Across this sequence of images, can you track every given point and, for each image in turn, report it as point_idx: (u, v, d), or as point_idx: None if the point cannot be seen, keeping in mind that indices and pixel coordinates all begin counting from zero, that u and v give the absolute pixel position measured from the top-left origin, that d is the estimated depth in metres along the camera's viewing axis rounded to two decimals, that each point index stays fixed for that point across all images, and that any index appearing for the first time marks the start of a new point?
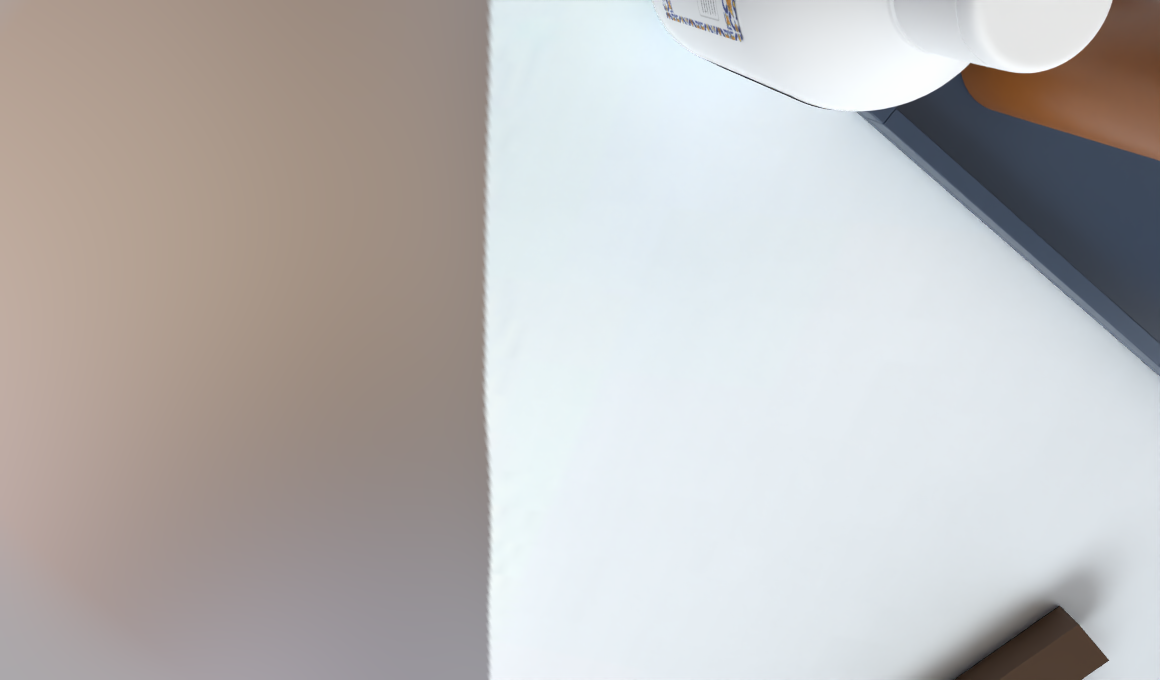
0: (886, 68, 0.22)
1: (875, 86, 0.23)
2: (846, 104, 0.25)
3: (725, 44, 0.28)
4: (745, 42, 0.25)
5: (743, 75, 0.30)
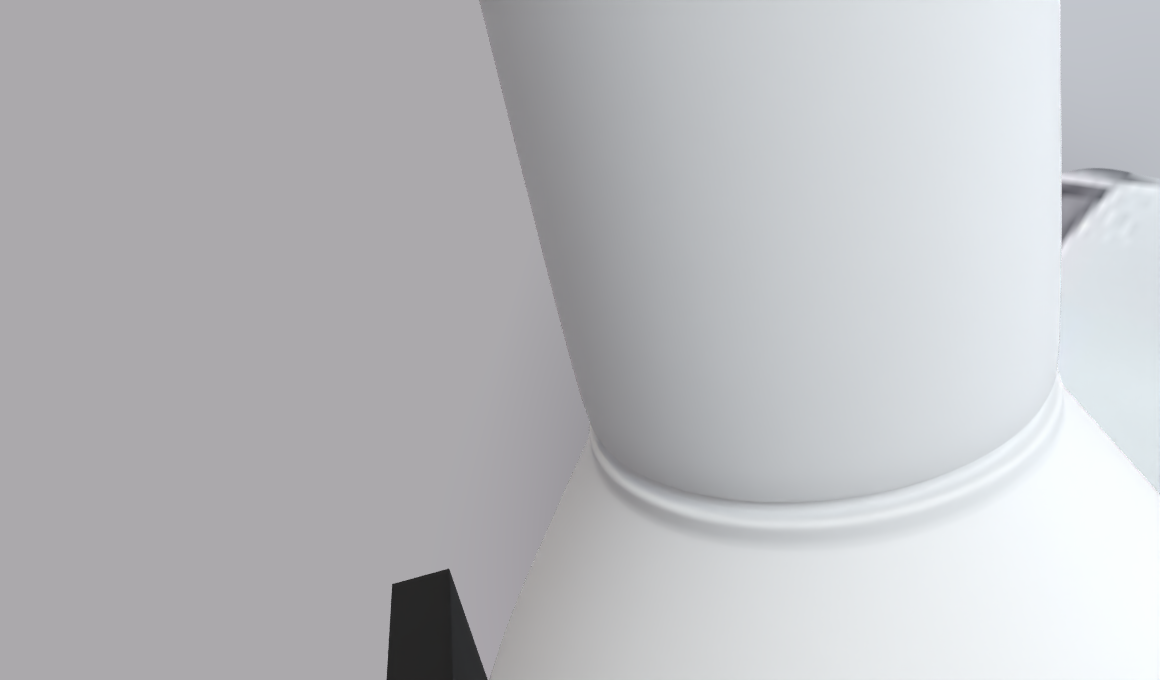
0: None
1: None
2: None
3: None
4: None
5: None
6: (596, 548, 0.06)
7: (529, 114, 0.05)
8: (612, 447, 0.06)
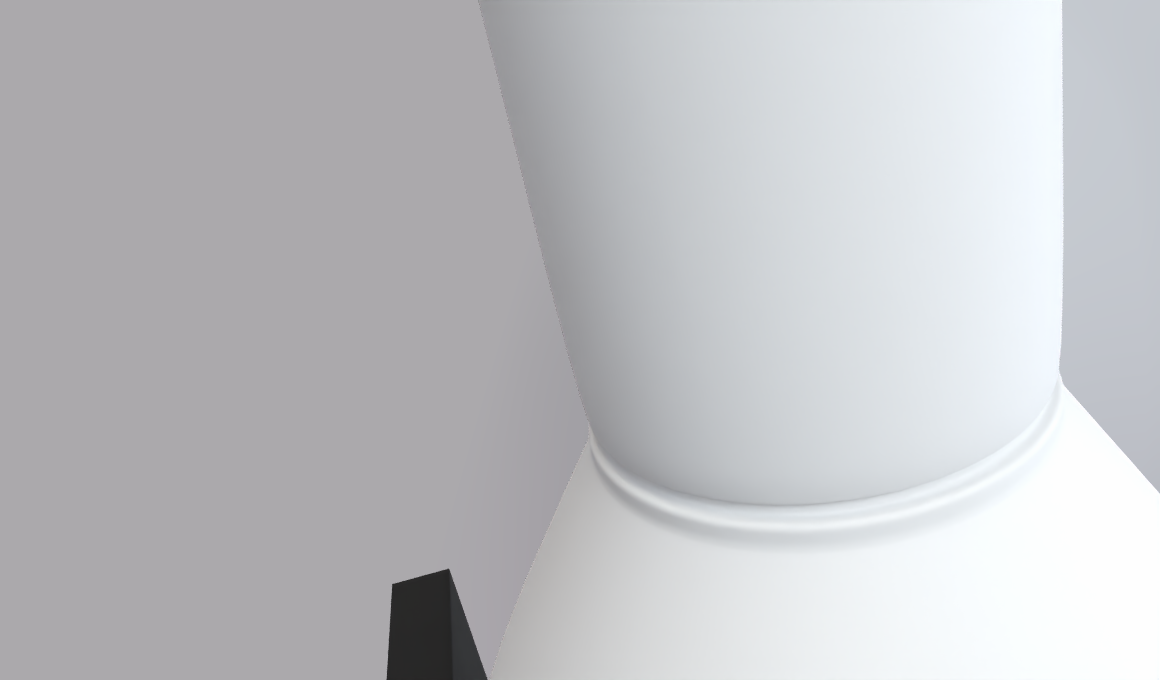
0: None
1: None
2: None
3: None
4: None
5: None
6: (596, 551, 0.06)
7: (528, 114, 0.05)
8: (610, 449, 0.06)
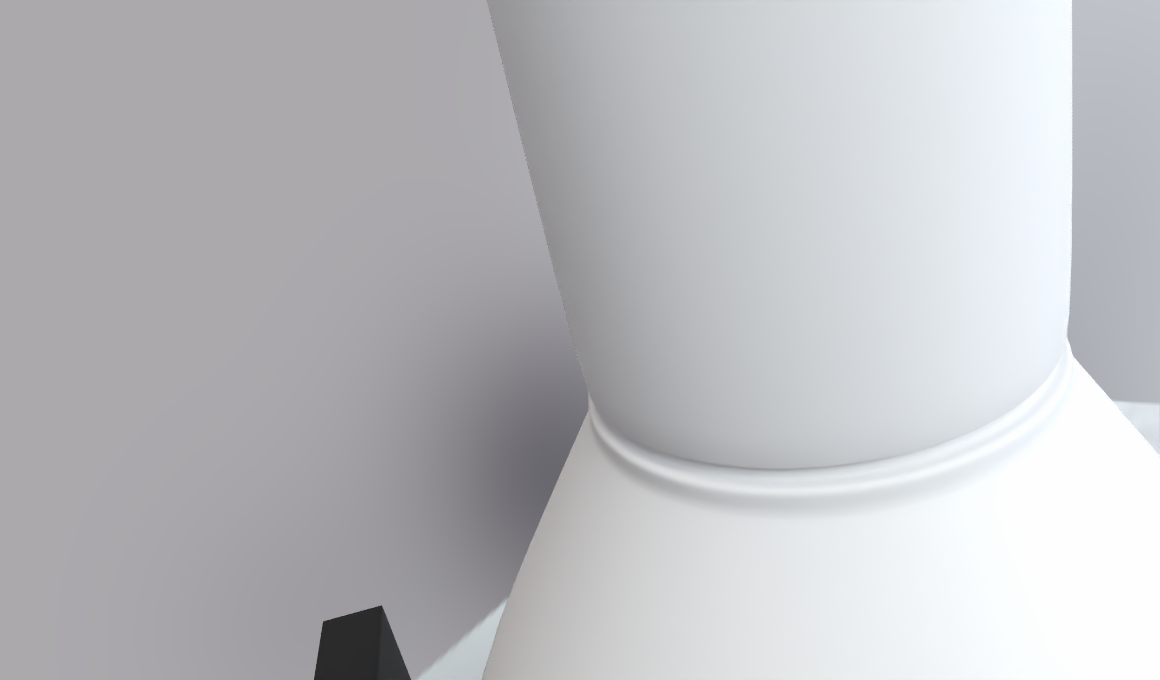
0: (1107, 663, 0.05)
1: None
2: None
3: None
4: None
5: None
6: (595, 521, 0.06)
7: (526, 69, 0.05)
8: (611, 416, 0.05)
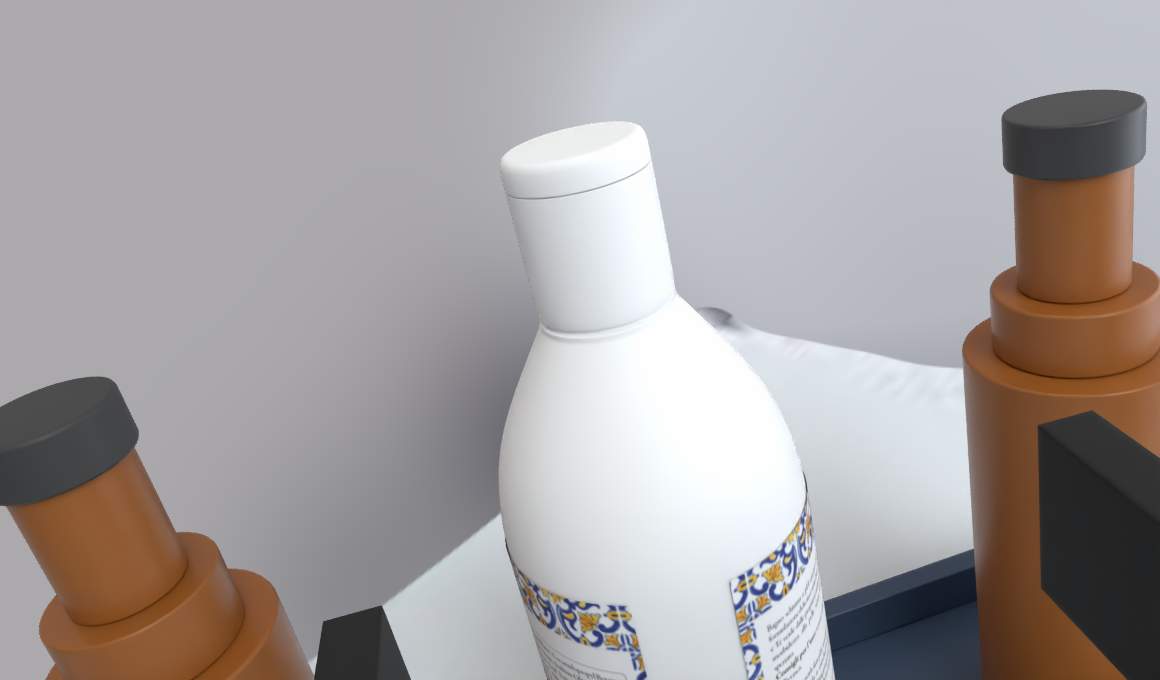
0: (668, 380, 0.18)
1: (700, 412, 0.18)
2: (734, 478, 0.18)
3: None
4: (630, 604, 0.19)
5: None
6: (540, 353, 0.19)
7: (519, 229, 0.18)
8: (544, 321, 0.19)
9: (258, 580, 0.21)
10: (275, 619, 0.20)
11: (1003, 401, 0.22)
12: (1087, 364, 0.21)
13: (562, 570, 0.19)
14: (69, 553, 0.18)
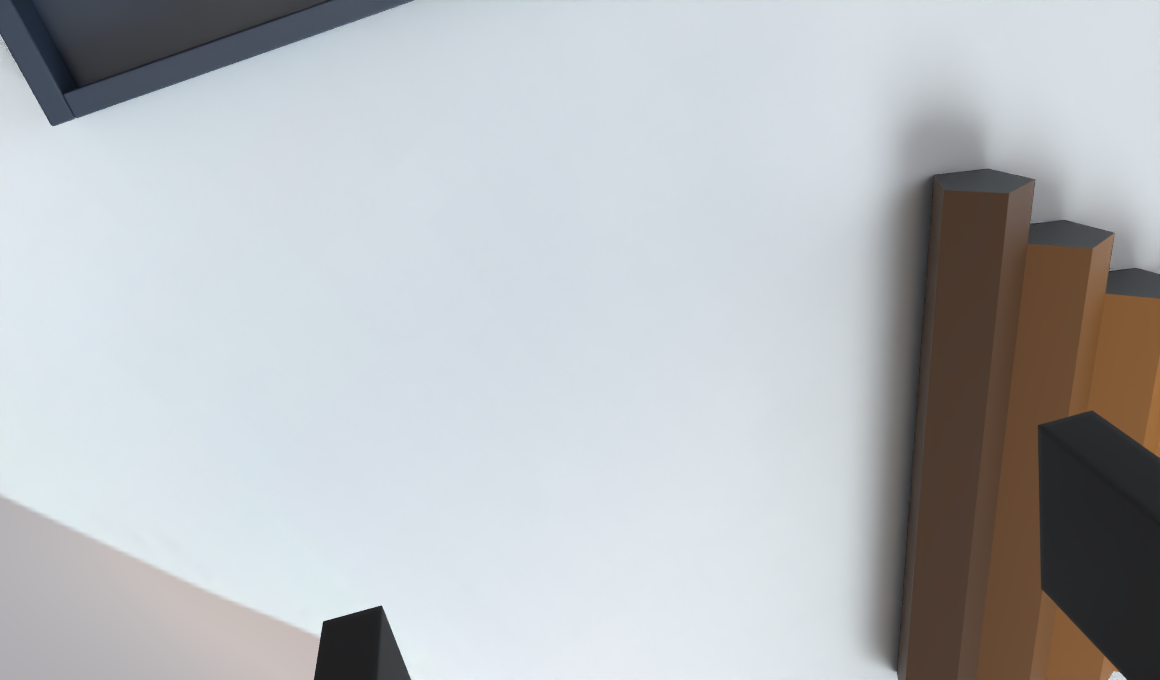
0: None
1: None
2: None
3: None
4: None
5: None
6: None
7: None
8: None
9: None
10: None
11: None
12: None
13: None
14: None
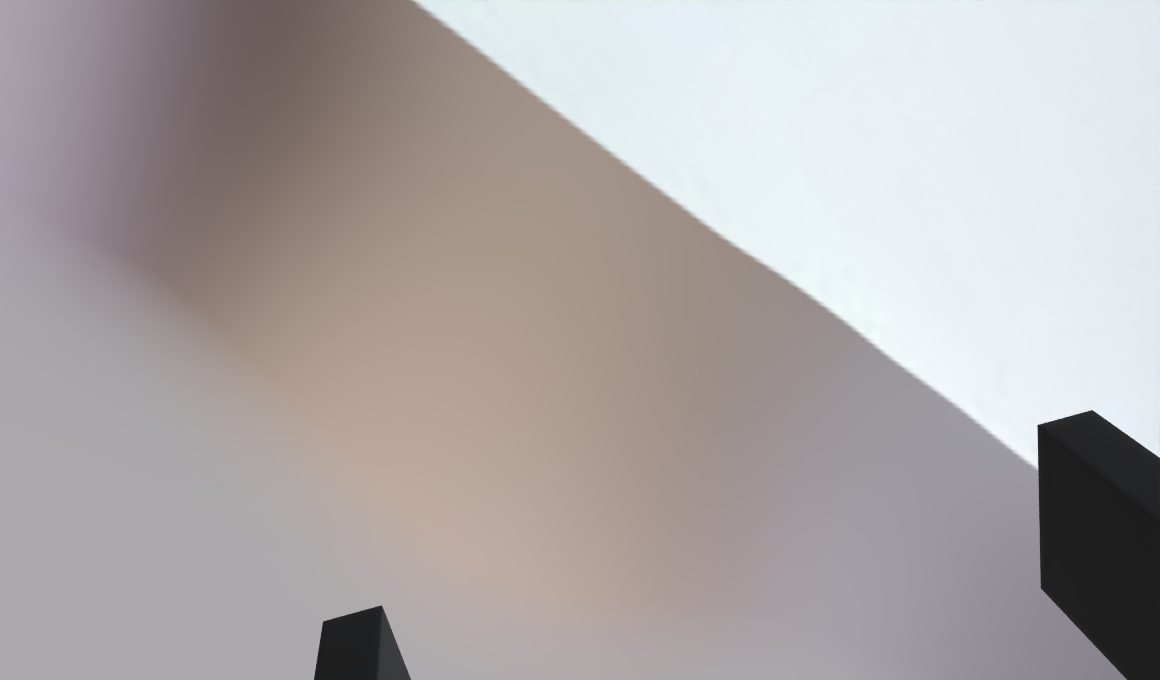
0: None
1: None
2: None
3: None
4: None
5: None
6: None
7: None
8: None
9: None
10: None
11: None
12: None
13: None
14: None
